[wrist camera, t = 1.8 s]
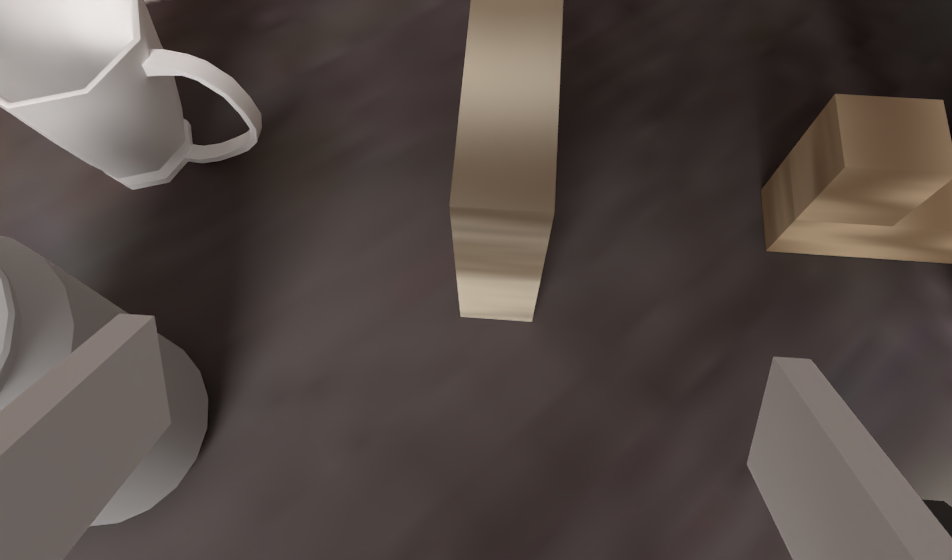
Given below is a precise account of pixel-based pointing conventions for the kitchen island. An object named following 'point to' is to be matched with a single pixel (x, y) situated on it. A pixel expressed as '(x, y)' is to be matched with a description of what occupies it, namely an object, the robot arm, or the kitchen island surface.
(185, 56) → the cup
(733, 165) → the kitchen island surface
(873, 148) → the oak slot board
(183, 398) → the can
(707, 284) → the kitchen island surface
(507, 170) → the cream wavy slab
